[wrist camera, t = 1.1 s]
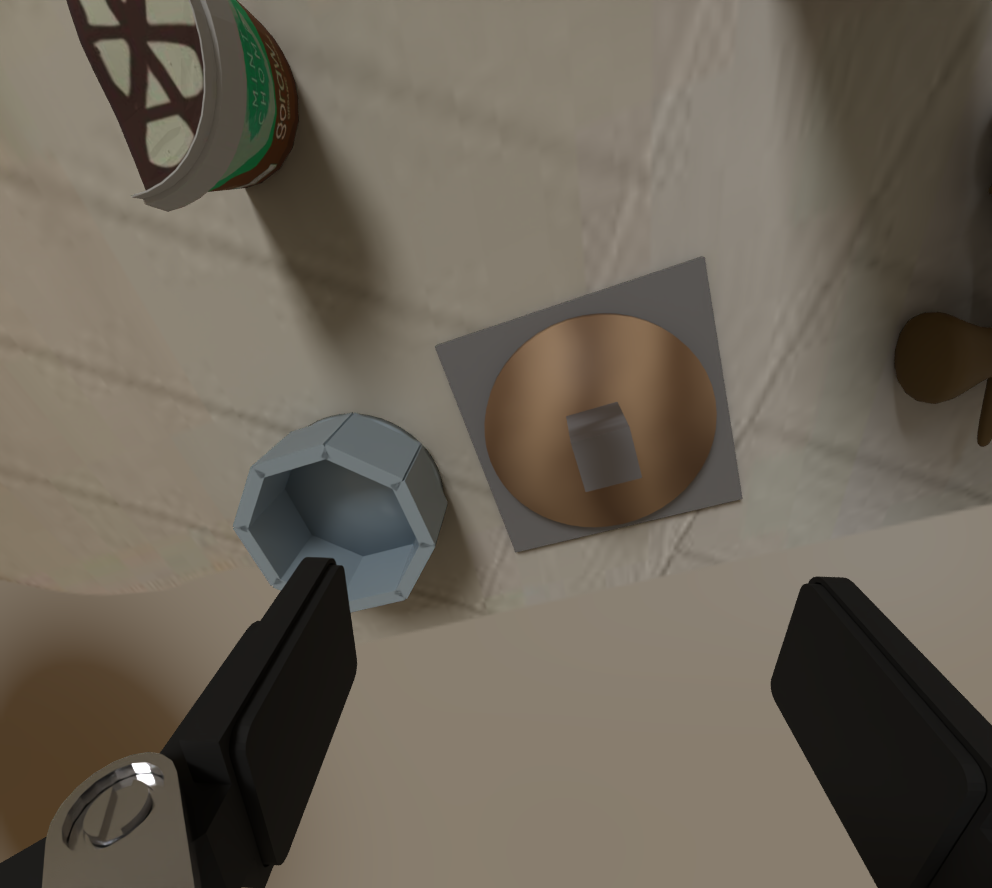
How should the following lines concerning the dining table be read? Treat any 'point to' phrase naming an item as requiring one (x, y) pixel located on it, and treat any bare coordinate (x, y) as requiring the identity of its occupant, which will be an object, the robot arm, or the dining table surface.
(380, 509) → the bowl
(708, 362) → the mat
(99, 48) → the food container
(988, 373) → the kendama
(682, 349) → the lid
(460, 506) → the dining table surface
